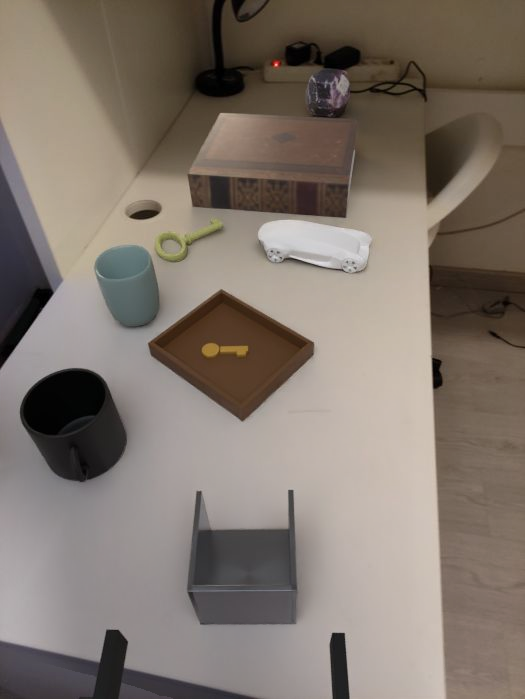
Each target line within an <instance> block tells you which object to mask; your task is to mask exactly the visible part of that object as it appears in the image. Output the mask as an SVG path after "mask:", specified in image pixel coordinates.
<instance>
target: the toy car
mask: <svg viewBox="0 0 525 699" xmlns="http://www.w3.org/2000/svg"><path fill="white" fill-rule="evenodd" d="M257 238H258V240H259V243H261V244H262V245H263V250H264V252H265V254H266V257H267V259H268V260H269V261H270V262H272V263H277V264H278V263H281V262H283V261H284V259H296V260H299V261H301V262H305V263H309V264H312V265H316V266H319V267H323V268H328V269H335V270H336V269H338V270H343V271H344V272H346V273H348V274H353V273H357V272H360V271H362V270H364V269H365V268H366V266H367V264H368V258H369V254H370V248H369V246H370V245H371V243H372V241H373V237H372V235H370V234H369V233H368V232H365V231H363V230H360V229H352V228H346V227H339V226H333V225H329V224H323V223H319V222H318V223H317V222H313V221H307V220H301V219H279V220H278V219H277V220H272V221H271V220H270V221H267V222H265V223H264V224H262V225H261V226H260V228H259V230H258V232H257Z"/></svg>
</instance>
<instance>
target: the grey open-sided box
mask: <svg viewBox="0 0 525 699" xmlns="http://www.w3.org/2000/svg"><path fill="white" fill-rule="evenodd" d="M194 502H195V503H194V511H193V512H194V513H193V522H192V532H191V533H192V534H191V545H190V555H189V563H188V564H189V565H188V576H187V586H186V593H187V595H188V597H189V600H190V602H191V605H192V608H193V610H194V612H195V615H196V617H197V620H198V622H199V625H201V626H202V625H296V624H297V610H298V608H297V607H298V606H297V604H298V576H297V574H298V572H297V551H296V550H297V548H296V546H297V545H296V526H295V525H296V520H295V518H296V516H295V492H294V489H288V490H287V528H248V529H247V528H245V529H244V528H242V529H241V528H240V529H212V527H211V523H210V520H209V518H210V517H209V515H208V511H207V506H206V502H205V498H204V494H203V491H202V490H196V492H195V501H194Z"/></svg>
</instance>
